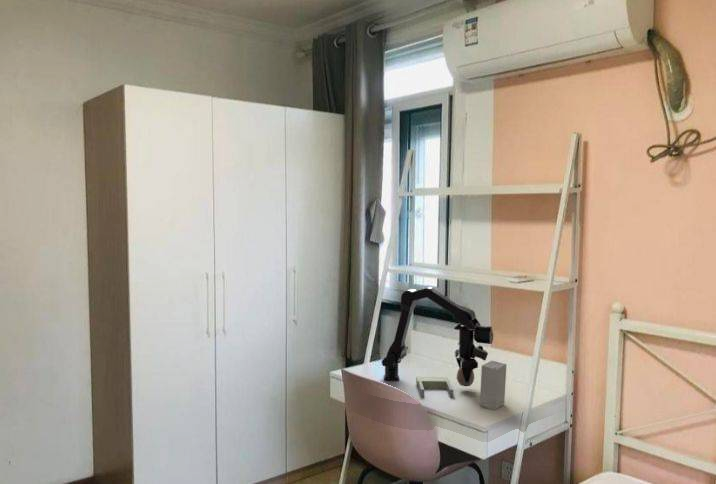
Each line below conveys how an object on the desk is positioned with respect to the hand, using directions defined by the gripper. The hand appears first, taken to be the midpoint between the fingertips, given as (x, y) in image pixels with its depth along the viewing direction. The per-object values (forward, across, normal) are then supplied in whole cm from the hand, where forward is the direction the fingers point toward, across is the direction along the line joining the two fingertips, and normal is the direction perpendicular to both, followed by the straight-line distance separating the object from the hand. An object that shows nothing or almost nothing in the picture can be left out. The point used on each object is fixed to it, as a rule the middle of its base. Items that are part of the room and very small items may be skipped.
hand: (465, 379), depth 229 cm
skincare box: (+5, -18, -7) cm, 20 cm away
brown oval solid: (+2, 0, 0) cm, 2 cm away
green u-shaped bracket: (+4, -1, +12) cm, 13 cm away
